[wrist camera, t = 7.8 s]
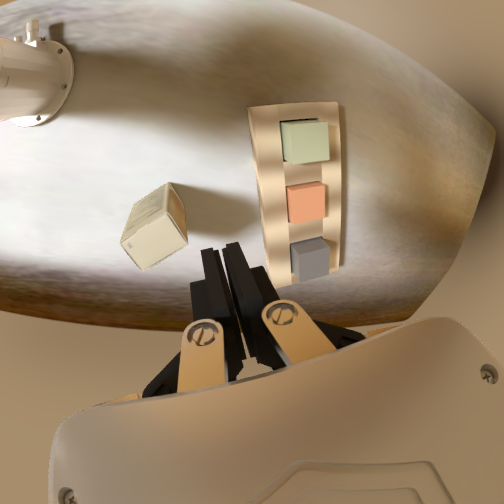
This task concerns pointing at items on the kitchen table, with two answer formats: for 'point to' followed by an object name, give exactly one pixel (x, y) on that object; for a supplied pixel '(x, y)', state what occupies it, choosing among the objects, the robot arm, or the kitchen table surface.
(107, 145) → the kitchen table surface
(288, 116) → the board
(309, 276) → the charcoal key
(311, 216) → the terracotta key
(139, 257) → the skincare box
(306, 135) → the sage key
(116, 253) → the kitchen table surface
